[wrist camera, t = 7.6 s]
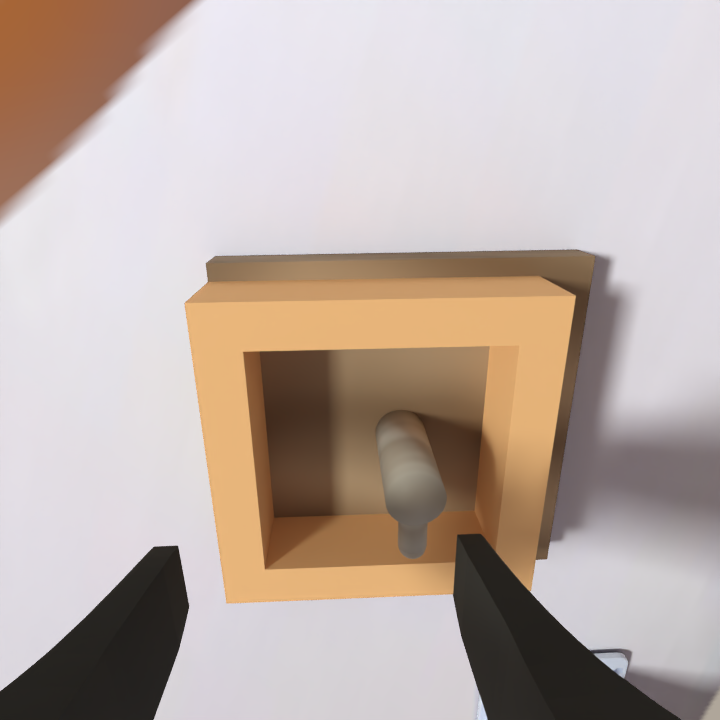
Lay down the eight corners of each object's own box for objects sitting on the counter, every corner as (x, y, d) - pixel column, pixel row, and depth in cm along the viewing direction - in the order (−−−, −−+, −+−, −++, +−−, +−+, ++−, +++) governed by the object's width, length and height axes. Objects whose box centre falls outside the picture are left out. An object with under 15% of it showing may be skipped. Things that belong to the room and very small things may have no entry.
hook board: (534, 536, 24) (593, 646, 19) (249, 548, 24) (222, 663, 18) (576, 249, 19) (673, 283, 14) (215, 256, 19) (164, 293, 13)
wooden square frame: (506, 538, 23) (530, 590, 20) (240, 548, 22) (226, 603, 19) (539, 275, 18) (575, 295, 15) (208, 281, 18) (184, 302, 15)
